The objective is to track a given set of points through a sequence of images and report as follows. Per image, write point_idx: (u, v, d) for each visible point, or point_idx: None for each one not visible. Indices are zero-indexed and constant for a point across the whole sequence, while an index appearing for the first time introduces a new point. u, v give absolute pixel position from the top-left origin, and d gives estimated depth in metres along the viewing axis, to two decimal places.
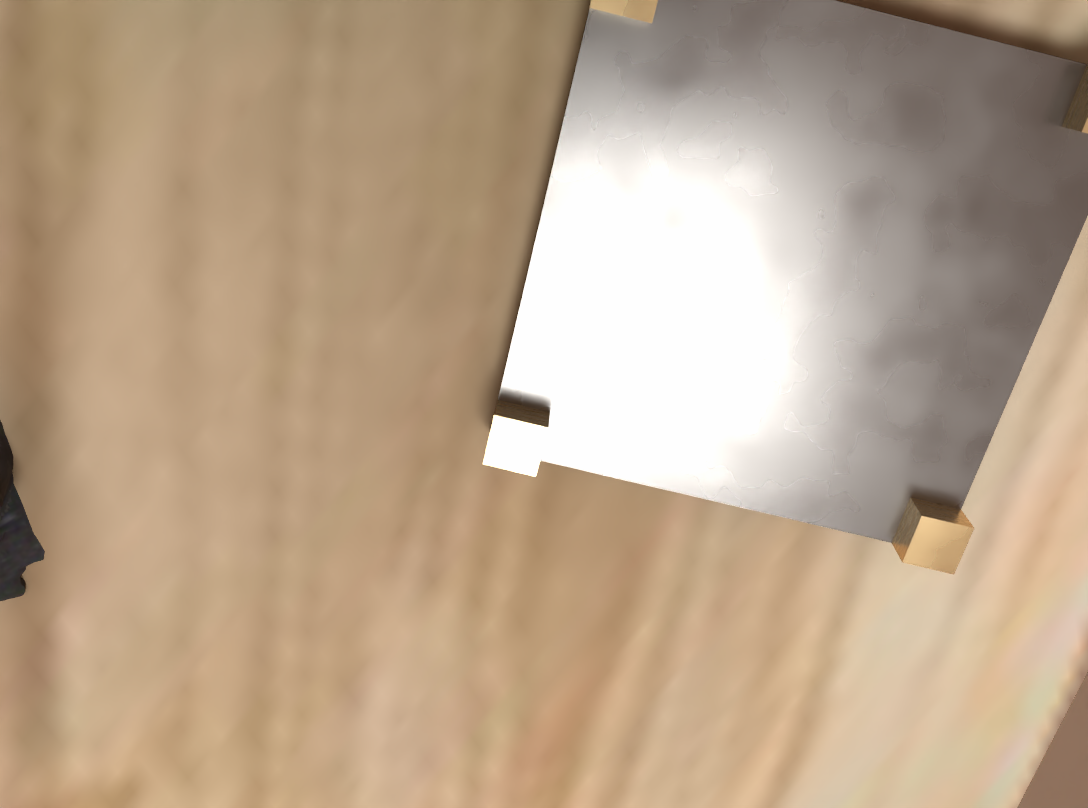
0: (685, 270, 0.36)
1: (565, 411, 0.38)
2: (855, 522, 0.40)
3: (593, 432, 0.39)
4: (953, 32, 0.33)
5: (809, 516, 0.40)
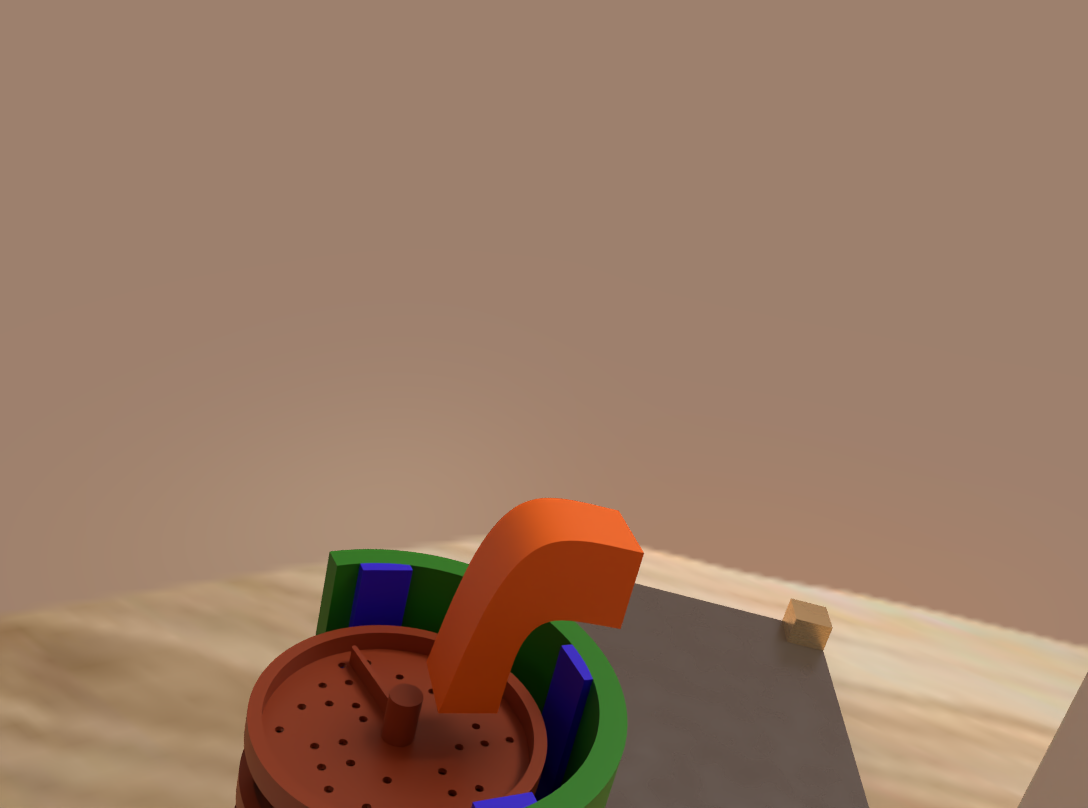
0: (680, 745, 0.46)
1: None
2: (819, 666, 0.54)
3: None
4: None
5: (829, 688, 0.52)
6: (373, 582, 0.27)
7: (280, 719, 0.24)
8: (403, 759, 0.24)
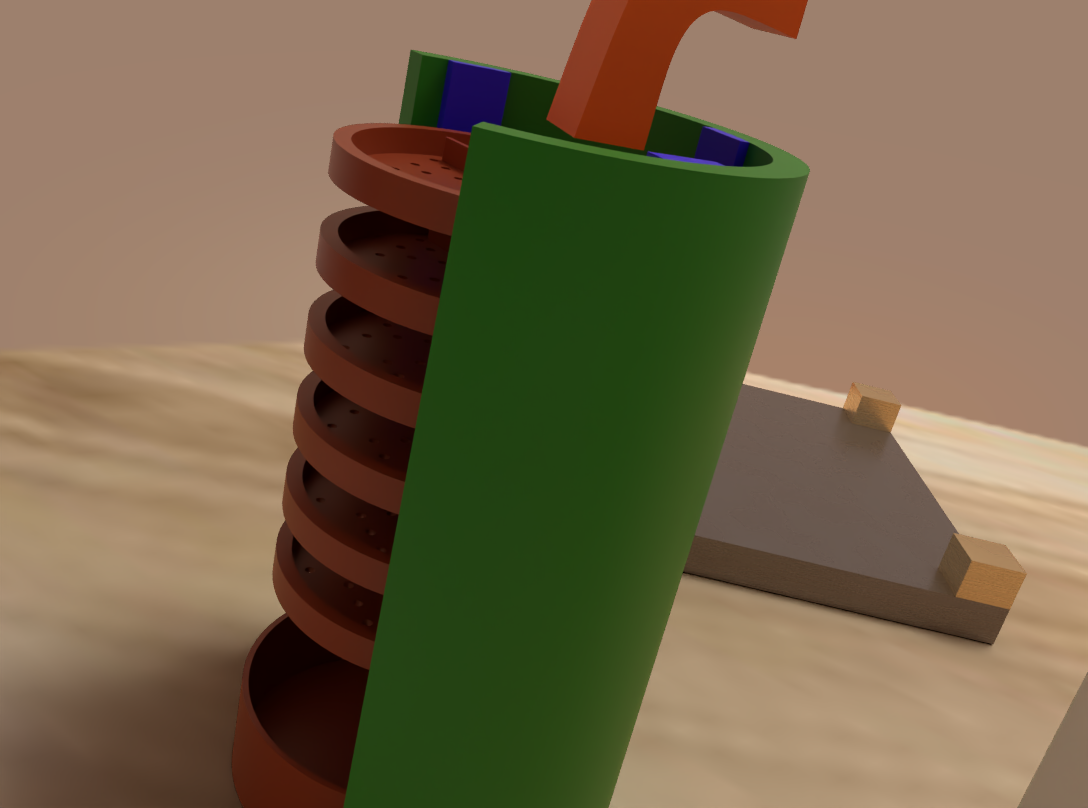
0: (758, 487, 0.41)
1: (928, 559, 0.39)
2: (889, 443, 0.50)
3: (933, 546, 0.40)
4: None
5: (903, 459, 0.48)
6: (465, 83, 0.22)
7: None
8: None
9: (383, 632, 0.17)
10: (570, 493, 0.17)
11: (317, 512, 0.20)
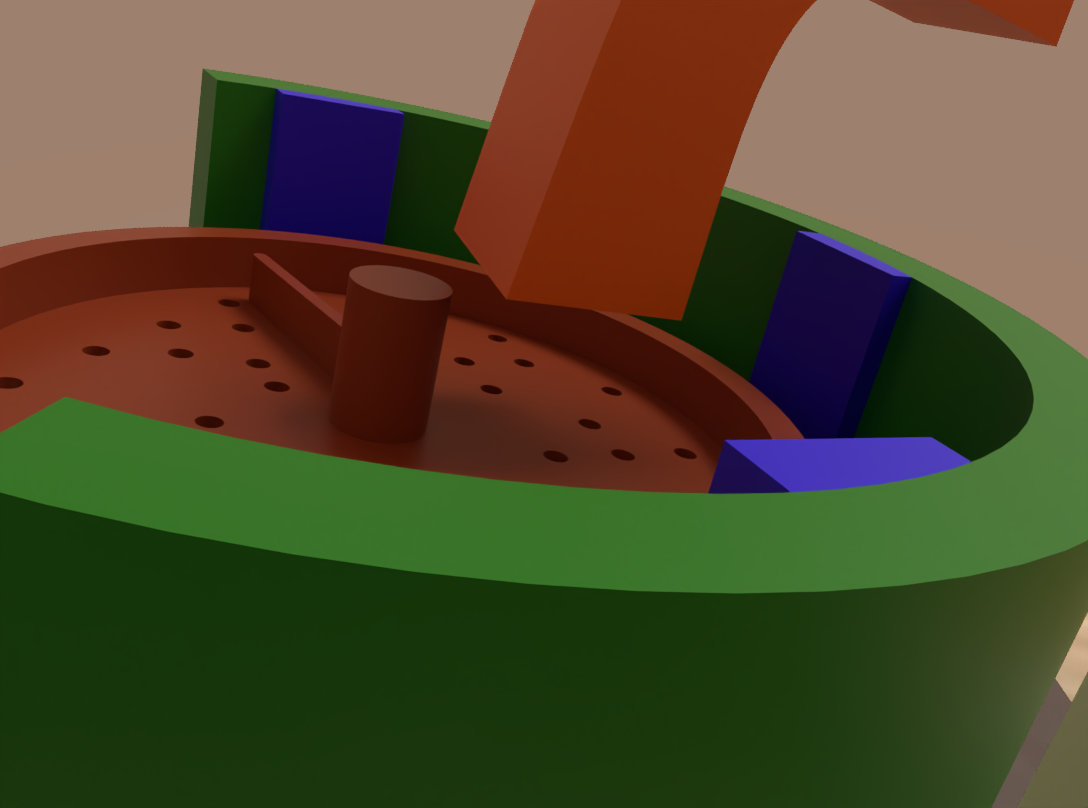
0: None
1: None
2: None
3: None
4: None
5: None
6: (309, 135, 0.11)
7: (18, 365, 0.08)
8: None
9: None
10: None
11: None
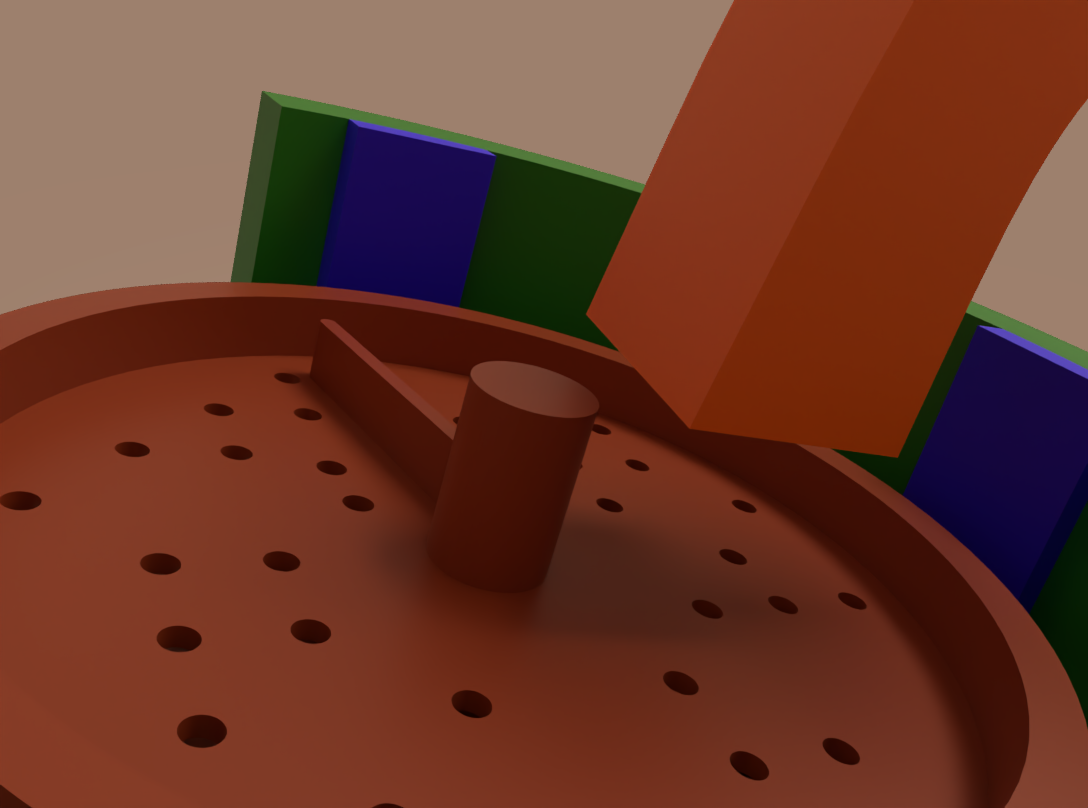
0: None
1: None
2: None
3: None
4: None
5: None
6: (385, 176, 0.09)
7: (35, 473, 0.06)
8: (523, 633, 0.06)
9: None
10: None
11: None
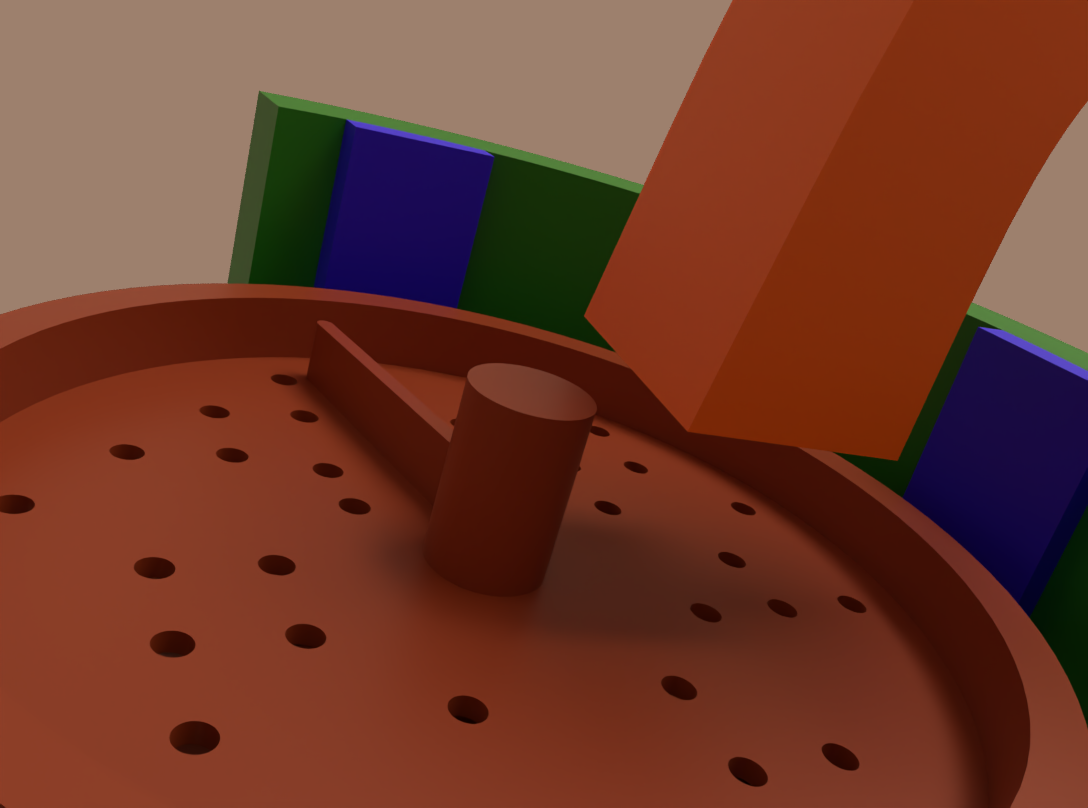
0: None
1: None
2: None
3: None
4: None
5: None
6: (383, 177, 0.09)
7: (29, 476, 0.06)
8: (520, 637, 0.06)
9: None
10: None
11: None
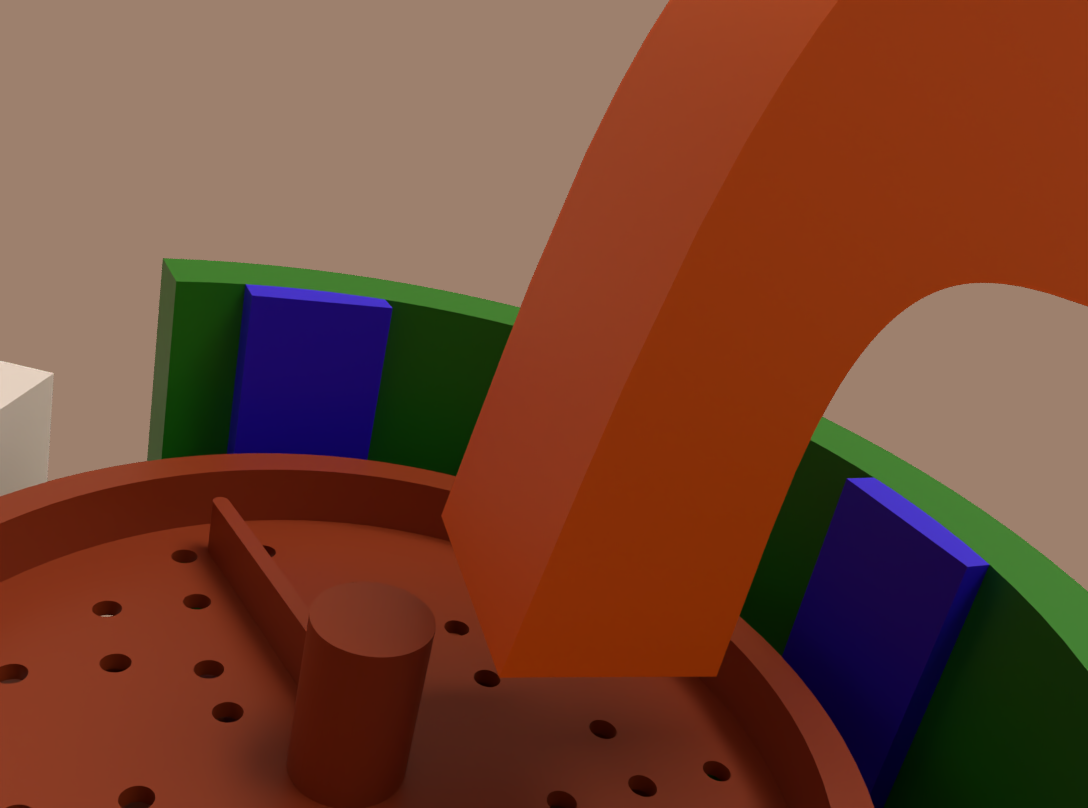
0: None
1: None
2: None
3: None
4: None
5: None
6: (283, 337, 0.10)
7: None
8: None
9: None
10: None
11: None
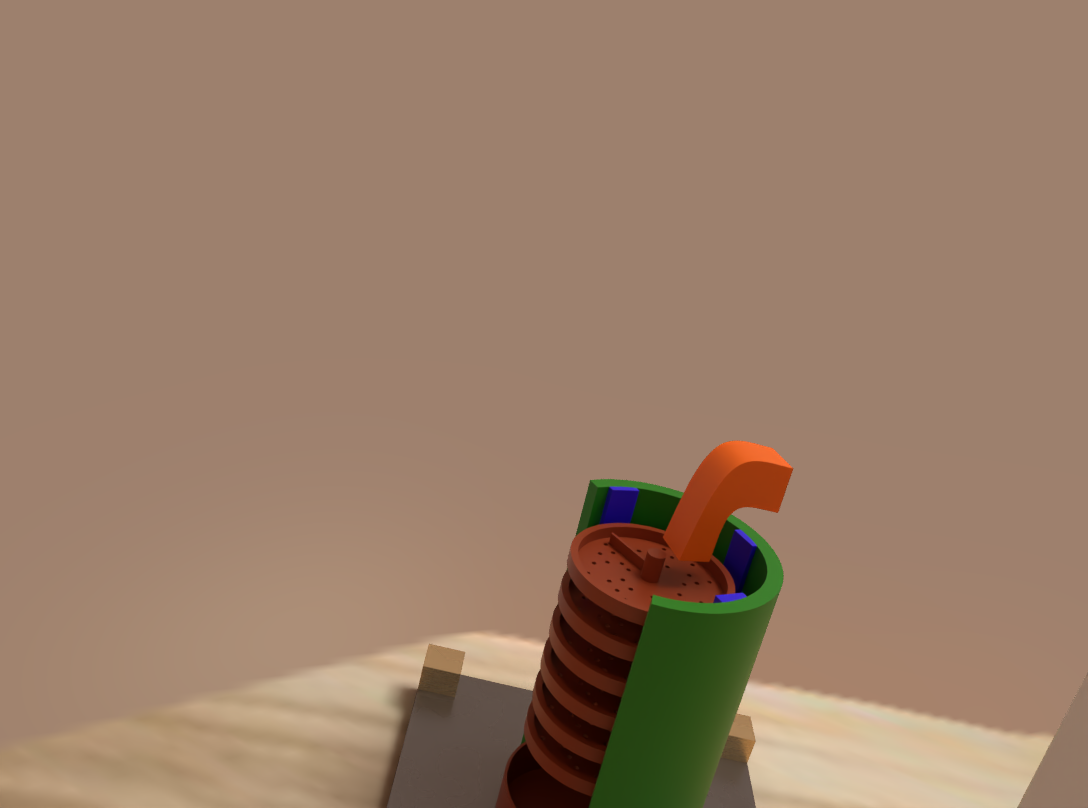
0: None
1: None
2: (742, 782, 0.54)
3: None
4: (404, 746, 0.50)
5: (750, 807, 0.52)
6: (617, 497, 0.46)
7: (586, 568, 0.42)
8: (657, 588, 0.42)
9: (600, 783, 0.41)
10: (681, 728, 0.40)
11: (557, 719, 0.43)
